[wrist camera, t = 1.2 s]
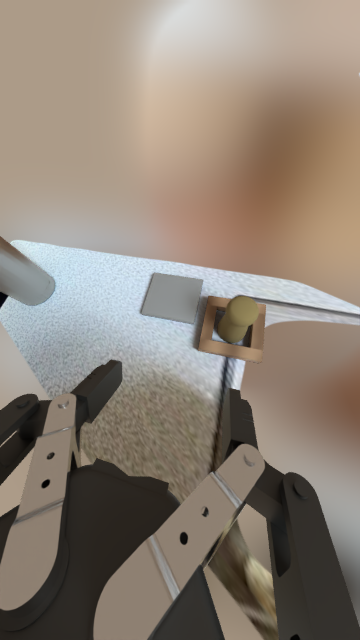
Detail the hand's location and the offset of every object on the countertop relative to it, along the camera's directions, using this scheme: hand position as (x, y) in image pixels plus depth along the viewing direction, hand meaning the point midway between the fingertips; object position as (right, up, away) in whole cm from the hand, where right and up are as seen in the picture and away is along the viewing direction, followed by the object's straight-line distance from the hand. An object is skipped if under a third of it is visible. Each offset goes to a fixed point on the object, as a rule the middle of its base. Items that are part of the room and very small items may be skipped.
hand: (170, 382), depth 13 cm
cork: (+12, +3, +25) cm, 28 cm away
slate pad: (-1, +10, +29) cm, 30 cm away
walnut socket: (+12, +3, +25) cm, 28 cm away
